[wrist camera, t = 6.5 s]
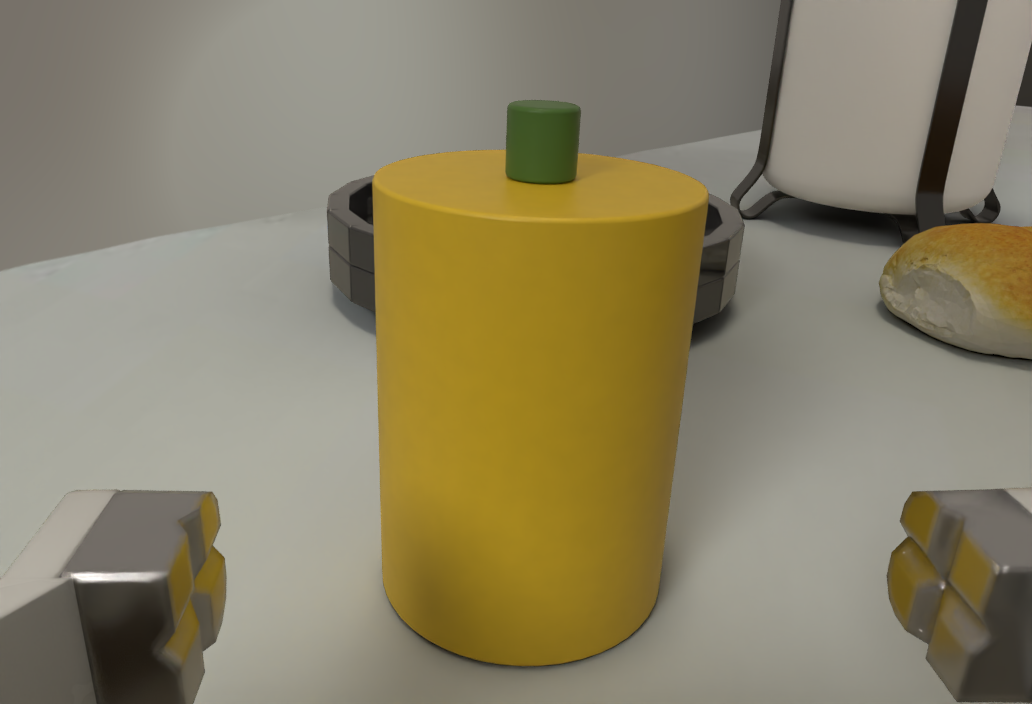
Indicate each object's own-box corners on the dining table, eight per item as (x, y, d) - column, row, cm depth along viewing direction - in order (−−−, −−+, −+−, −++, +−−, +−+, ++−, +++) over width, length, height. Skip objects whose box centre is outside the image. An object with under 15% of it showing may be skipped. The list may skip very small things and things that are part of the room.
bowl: (265, 342, 28) (257, 238, 27) (393, 226, 42) (392, 154, 41) (752, 387, 26) (769, 278, 25) (714, 250, 40) (723, 176, 39)
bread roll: (1196, 354, 30) (1238, 244, 29) (1006, 380, 27) (1041, 260, 26) (1003, 282, 37) (1028, 191, 36) (836, 297, 34) (855, 199, 33)
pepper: (344, 646, 15) (318, 115, 12) (419, 482, 20) (418, 79, 17) (661, 687, 15) (736, 140, 11) (656, 509, 20) (707, 95, 16)
